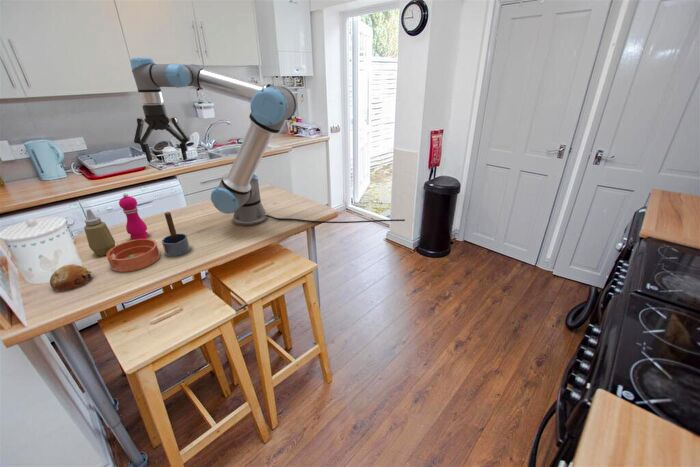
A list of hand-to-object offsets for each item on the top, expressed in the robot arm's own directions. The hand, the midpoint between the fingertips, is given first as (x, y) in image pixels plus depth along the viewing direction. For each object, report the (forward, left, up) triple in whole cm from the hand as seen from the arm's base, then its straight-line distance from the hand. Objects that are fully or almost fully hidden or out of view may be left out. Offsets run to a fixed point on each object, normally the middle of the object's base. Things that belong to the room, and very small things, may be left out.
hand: (167, 160), depth 130 cm
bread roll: (+24, +39, -31) cm, 55 cm away
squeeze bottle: (+24, +19, -31) cm, 43 cm away
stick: (-4, +23, -30) cm, 38 cm away
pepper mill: (+16, +8, -31) cm, 36 cm away
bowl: (+9, +28, -31) cm, 43 cm away
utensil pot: (-4, +23, -31) cm, 39 cm away
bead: (+9, +29, -29) cm, 42 cm away
